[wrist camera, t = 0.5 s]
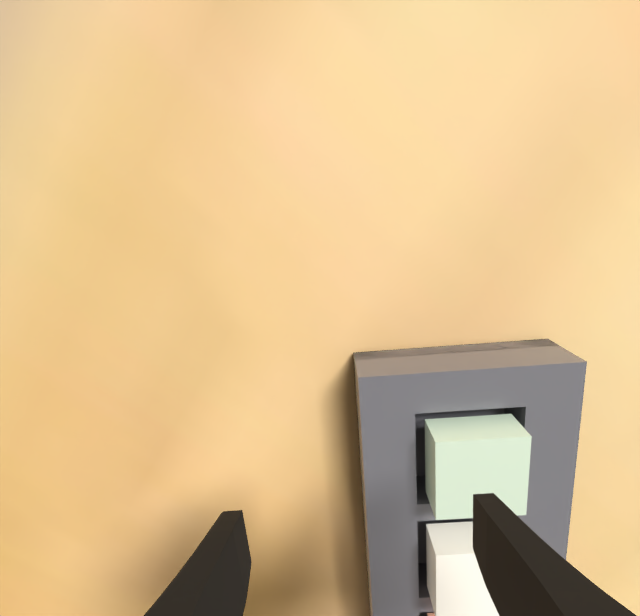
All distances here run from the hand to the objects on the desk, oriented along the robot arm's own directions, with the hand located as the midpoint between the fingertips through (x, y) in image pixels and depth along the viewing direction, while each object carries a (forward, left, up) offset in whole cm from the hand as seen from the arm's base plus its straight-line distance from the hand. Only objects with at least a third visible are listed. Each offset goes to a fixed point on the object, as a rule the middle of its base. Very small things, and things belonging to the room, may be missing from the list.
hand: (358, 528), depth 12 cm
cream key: (-8, -6, -6) cm, 12 cm away
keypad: (-8, -6, -9) cm, 13 cm away
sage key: (-2, -6, -6) cm, 9 cm away
